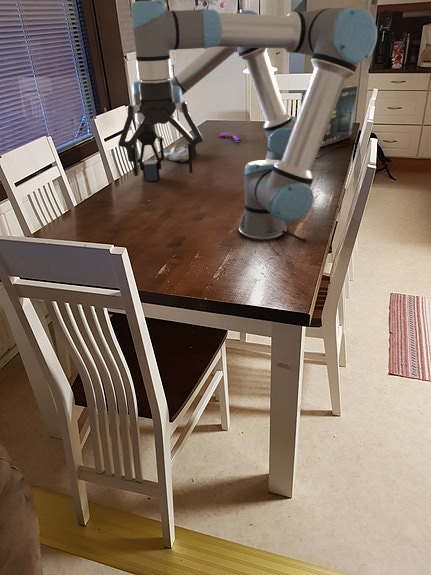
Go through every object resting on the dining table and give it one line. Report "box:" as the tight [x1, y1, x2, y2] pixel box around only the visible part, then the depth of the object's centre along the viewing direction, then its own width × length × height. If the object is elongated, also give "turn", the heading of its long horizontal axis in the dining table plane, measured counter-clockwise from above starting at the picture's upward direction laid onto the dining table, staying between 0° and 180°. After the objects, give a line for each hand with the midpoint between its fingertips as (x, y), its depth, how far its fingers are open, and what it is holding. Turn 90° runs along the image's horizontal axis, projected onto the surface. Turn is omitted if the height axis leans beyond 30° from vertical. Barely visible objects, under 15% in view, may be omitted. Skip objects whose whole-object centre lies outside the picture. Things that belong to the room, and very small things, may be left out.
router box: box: [300, 84, 358, 145], centre depth 238 cm, size 36×11×27 cm, turn 134°
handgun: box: [219, 132, 241, 144], centre depth 258 cm, size 21×8×2 cm, turn 11°
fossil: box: [163, 142, 199, 163], centre depth 229 cm, size 18×11×15 cm
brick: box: [143, 159, 159, 182], centre depth 200 cm, size 5×6×7 cm
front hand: (163, 172), depth 115 cm, fingers open, 13 cm apart
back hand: (151, 176), depth 202 cm, fingers closed on brick, 5 cm apart
